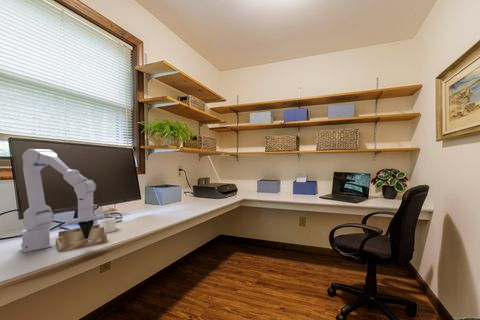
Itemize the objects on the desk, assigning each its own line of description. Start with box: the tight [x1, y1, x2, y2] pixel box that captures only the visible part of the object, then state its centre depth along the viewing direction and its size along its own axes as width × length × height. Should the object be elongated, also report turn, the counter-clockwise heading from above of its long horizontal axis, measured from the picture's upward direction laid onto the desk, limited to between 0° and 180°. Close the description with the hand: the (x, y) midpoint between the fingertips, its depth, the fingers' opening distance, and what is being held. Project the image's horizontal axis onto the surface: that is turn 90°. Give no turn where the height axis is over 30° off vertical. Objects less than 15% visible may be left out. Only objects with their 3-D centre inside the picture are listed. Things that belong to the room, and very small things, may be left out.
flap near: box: [61, 227, 105, 244], centre depth 104 cm, size 17×4×1 cm
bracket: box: [96, 217, 117, 234], centre depth 122 cm, size 20×9×7 cm, turn 146°
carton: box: [55, 233, 108, 252], centre depth 108 cm, size 18×13×3 cm
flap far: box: [57, 223, 100, 238], centre depth 111 cm, size 17×4×1 cm
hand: (86, 238), depth 101 cm, fingers closed
